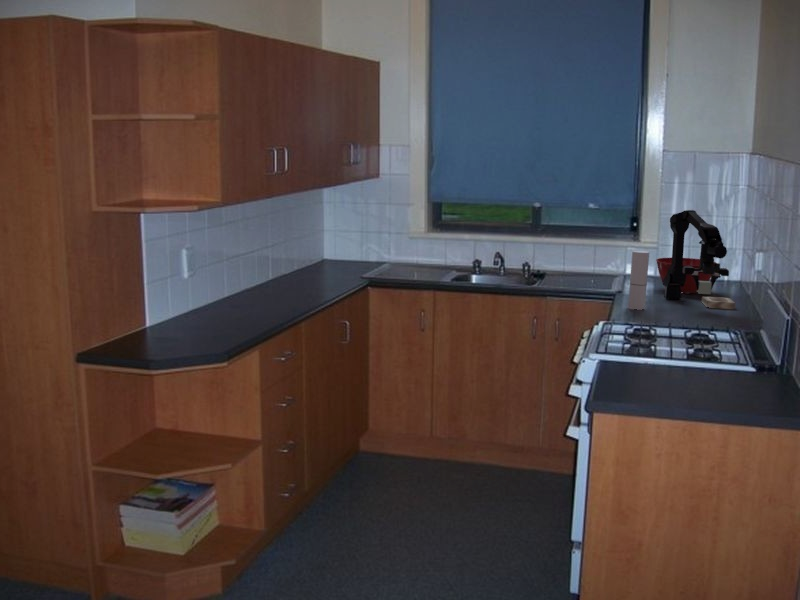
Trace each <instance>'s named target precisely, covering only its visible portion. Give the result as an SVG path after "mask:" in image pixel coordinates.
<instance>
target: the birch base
mask: <svg viewBox="0 0 800 600" xmlns="http://www.w3.org/2000/svg"><path fill="white" fill-rule="evenodd" d="M701 302H702V303H703V304H704V305H705V306H706V307H709V308H708V309H721V310H722V309H723V310H735V307H736V302H735V301H734V300H732V299H731V298H730V297H719V296H701ZM702 303H701V304H702ZM703 304H702V305H703ZM704 305H703V306H704ZM705 306H704V307H705Z"/></svg>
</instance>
